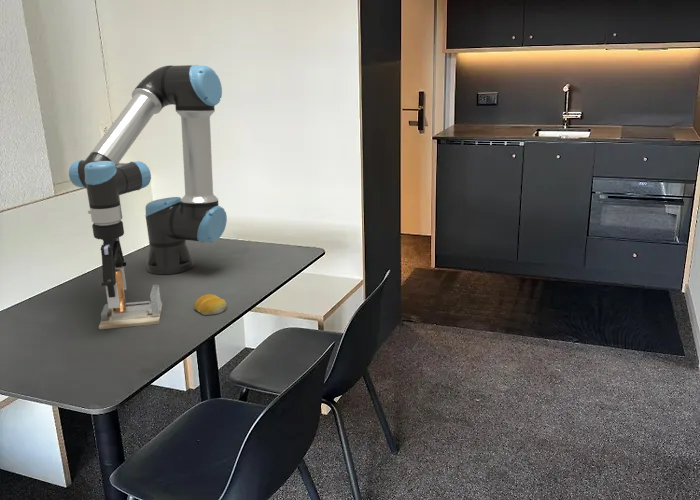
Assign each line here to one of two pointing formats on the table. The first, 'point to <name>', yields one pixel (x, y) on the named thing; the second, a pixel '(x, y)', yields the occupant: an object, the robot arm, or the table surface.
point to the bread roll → (210, 304)
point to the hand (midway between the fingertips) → (117, 298)
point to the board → (130, 321)
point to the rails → (125, 312)
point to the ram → (151, 308)
